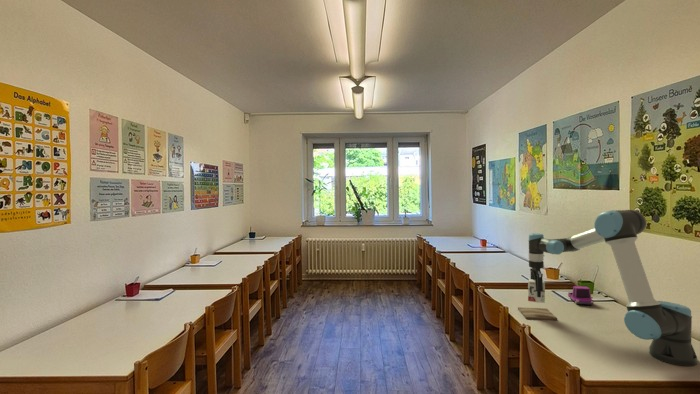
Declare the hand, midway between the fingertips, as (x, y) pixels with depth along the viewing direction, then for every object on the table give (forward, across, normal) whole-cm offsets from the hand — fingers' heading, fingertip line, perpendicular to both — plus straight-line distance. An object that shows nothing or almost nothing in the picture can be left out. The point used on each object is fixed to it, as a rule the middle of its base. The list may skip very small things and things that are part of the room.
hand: (536, 300), depth 204 cm
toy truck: (+9, +27, -34) cm, 44 cm away
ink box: (+1, 0, 0) cm, 1 cm away
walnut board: (+8, 0, 0) cm, 8 cm away
